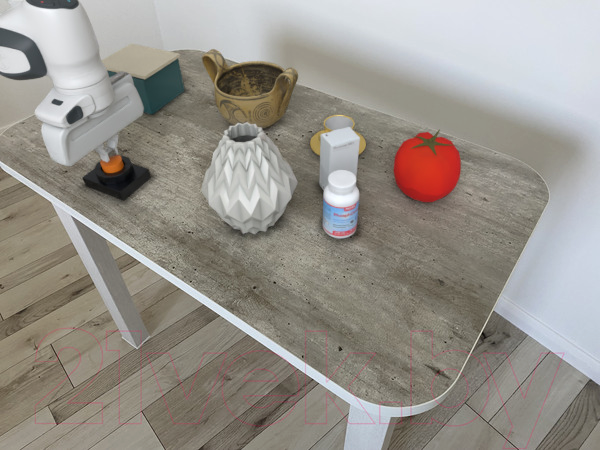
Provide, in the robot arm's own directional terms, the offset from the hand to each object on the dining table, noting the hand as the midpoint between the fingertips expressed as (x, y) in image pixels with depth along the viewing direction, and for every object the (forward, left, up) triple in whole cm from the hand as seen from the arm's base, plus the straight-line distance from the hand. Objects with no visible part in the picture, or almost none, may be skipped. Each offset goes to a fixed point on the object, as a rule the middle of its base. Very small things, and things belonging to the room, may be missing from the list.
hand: (110, 157), depth 93 cm
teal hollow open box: (-18, +29, -6) cm, 35 cm away
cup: (+34, +31, -6) cm, 46 cm away
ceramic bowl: (+13, +31, -6) cm, 34 cm away
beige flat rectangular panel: (-18, +29, +3) cm, 34 cm away
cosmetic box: (+40, +18, -6) cm, 44 cm away
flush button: (0, 0, -2) cm, 2 cm away
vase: (+30, +3, -6) cm, 31 cm away
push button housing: (0, 0, -6) cm, 6 cm away
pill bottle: (+45, +8, -6) cm, 46 cm away
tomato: (+55, +24, -6) cm, 60 cm away
